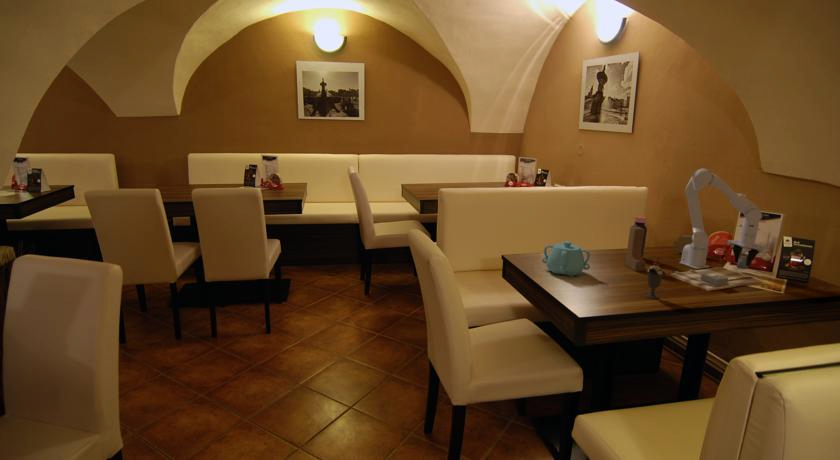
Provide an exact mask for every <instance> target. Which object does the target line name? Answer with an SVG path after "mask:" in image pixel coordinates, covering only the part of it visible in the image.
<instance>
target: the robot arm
mask: <svg viewBox="0 0 840 460" xmlns="http://www.w3.org/2000/svg"><path fill="white" fill-rule="evenodd" d="M690 177H691V178H690V179H689V181H688V183H687V184H686V187H685V195H686V200H687V205H688V212H689V216H690V217H689V218H690V222H691V227H692V235H691V236H692V240H693V242H692V243H691V244H688V245H686V246H685V247H684V248H683V252H682V253H681V260H680V261H679V264H682V265H684V266H687V267H689V268H693V269H695V270H702V269H709V268H710V265H708V264H706V261H707V256H708V252H709V251H708V248H709V244H710V239H709V237H708V235H707V233H706V231H705V227H704V220H703V215H702V210H701V204H700V199H699V191H700V190H701V189H703V187H705V186H706V185H708V186H712V187H716V188H717V189H718V190H720V191H721V193H723V194H724V195H725V196H727V198H729V203H730V205H732V206H733V207H734V208H735V209H736V210H738V212H740V214H743V216H744V219H743V222H742V227H741V229H740V230H741V232H740V235H739V240H732V239H728V240H727V243H726V245H731V246H732V247H731V250H732V252H733V255H734V262H735V264H737V262H738V257H739V254H740V253H742V251H743V248H744V249H748V250H747V254H748V260H747V265H746V266H748V267H749V266H751V265H752V262H753V261H754V259H755V258H756V256H757V255H758V254H759V253H763V254H764V253H766V251H767V247H765V246H761V245H759V244H758V245H757V244H756V240H757V236H758V230H759V226H760V225H759V223H760V220H761V219H762V218H763V214H762V211H761V209H760V208H759V207H758V206H757V204H756V203H754V202H752V201H750V200H749V199H748V196H747V195H746V194H743V193H737V192H735V191H734V190H733V189H732V188H731V187H730V186H729V185H728V184H727V183H725V181H724V180H722V178H720V177H719V176H718V175H716V174H715V173H713V172H710V170H709V169H707V168H704V167H703V168H699V169H697V170H696V171H695V172H693V173H692V175H691V176H690Z"/></svg>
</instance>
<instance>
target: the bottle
mask: <svg viewBox="0 0 840 460" xmlns="http://www.w3.org/2000/svg"><path fill="white" fill-rule="evenodd" d="M646 222H647V216H643V215H642V216H641V215H635V216H634V224H633V225H631V227H641V228H643V229H644V237H643V244H642V258H643V259H644V252H645V246H646V239H647V231H648V228H647V226H646Z"/></svg>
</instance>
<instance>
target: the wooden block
mask: <svg viewBox="0 0 840 460" xmlns="http://www.w3.org/2000/svg"><path fill="white" fill-rule="evenodd" d="M628 235H629V236H628V241H627V250H626V258H625V263H624V264H625V266H626V267H627V268H629V269H631V270H633V271H634V272H644V271H645V272H646V264H647V262H646V261H645V260H644V257H643V258H642V244H643V237H644V229H643V228H641V227H632V226H630V227H629V234H628Z"/></svg>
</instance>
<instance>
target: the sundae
mask: <svg viewBox="0 0 840 460" xmlns="http://www.w3.org/2000/svg"><path fill="white" fill-rule="evenodd" d="M659 259H660V258H659V257H657V261H656V262H654V263H653V264H652V265H651V266H650V267H649V268H648V269H645V272H646V273H647V285H648V287H649V288H650V290H651V291H650V293H646V294H644V297H645V298H646V297H647V298H646V299H649V300H659V299H660V297H659V296H658V295H656V294H655V291H656V289H658V288H659V287H660V286H661V282H662V279H663V277H664V276H665V275H666V272H665V271H664V270H663V269H662V268H661V267H660V266H661V264H660V262H659V261H660V260H659Z"/></svg>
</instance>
